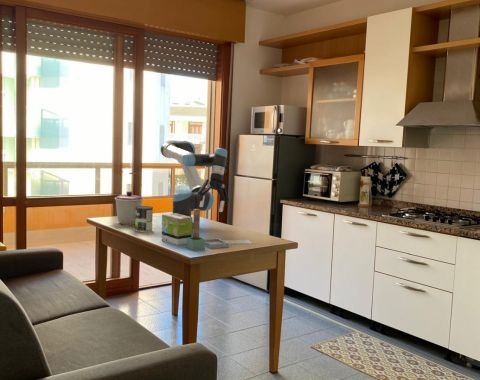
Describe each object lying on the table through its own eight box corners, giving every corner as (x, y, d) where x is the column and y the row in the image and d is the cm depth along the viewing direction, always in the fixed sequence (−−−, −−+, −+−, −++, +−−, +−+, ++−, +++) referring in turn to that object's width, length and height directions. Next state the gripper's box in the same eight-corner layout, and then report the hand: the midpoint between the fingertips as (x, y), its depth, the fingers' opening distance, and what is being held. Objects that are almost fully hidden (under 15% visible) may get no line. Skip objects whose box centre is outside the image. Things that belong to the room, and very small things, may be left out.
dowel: (191, 247, 240) (192, 209, 238) (197, 247, 241) (198, 208, 239) (193, 249, 237) (195, 209, 235) (199, 248, 239) (201, 209, 237)
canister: (133, 220, 314) (133, 189, 312) (148, 224, 302) (149, 191, 300) (108, 222, 301) (109, 190, 299) (124, 227, 289) (124, 193, 287)
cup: (186, 248, 240) (186, 237, 240) (198, 247, 244) (199, 236, 243) (191, 251, 234) (192, 240, 234) (204, 250, 238) (205, 239, 237)
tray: (199, 244, 250) (199, 239, 250) (217, 243, 256) (218, 238, 255) (209, 249, 240) (209, 244, 240) (228, 247, 245) (228, 242, 245)
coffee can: (137, 232, 275) (138, 208, 274) (133, 229, 284) (133, 206, 283) (154, 231, 280) (155, 208, 278) (149, 228, 289) (150, 205, 288)
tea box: (160, 241, 255) (161, 214, 253) (175, 238, 262) (176, 212, 261) (177, 246, 244) (178, 218, 243) (192, 243, 251) (193, 216, 250)
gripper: (202, 168, 268) (195, 204, 264) (237, 178, 281) (232, 213, 277) (196, 169, 274) (189, 204, 270) (231, 179, 287) (225, 213, 284)
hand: (211, 209), depth 274 cm, fingers open, 13 cm apart
